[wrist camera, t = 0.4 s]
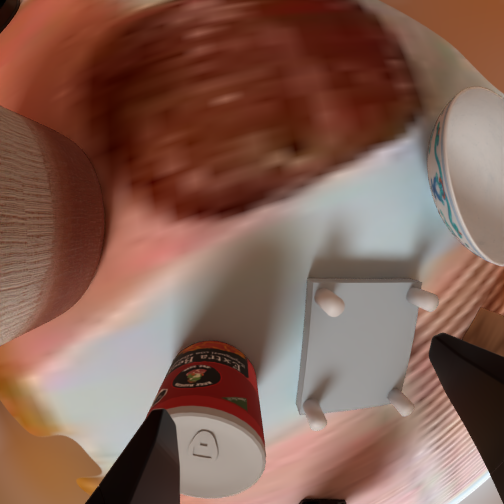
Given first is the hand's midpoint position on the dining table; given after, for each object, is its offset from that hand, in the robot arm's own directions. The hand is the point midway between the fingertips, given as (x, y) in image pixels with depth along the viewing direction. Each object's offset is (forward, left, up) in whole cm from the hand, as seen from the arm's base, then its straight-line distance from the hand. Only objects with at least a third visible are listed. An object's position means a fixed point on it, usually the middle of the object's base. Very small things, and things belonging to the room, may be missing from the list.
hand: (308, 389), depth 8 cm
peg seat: (-2, -10, -16) cm, 19 cm away
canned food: (-9, +1, -16) cm, 19 cm away
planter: (-2, +22, -16) cm, 28 cm away
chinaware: (+16, -15, -16) cm, 27 cm away
